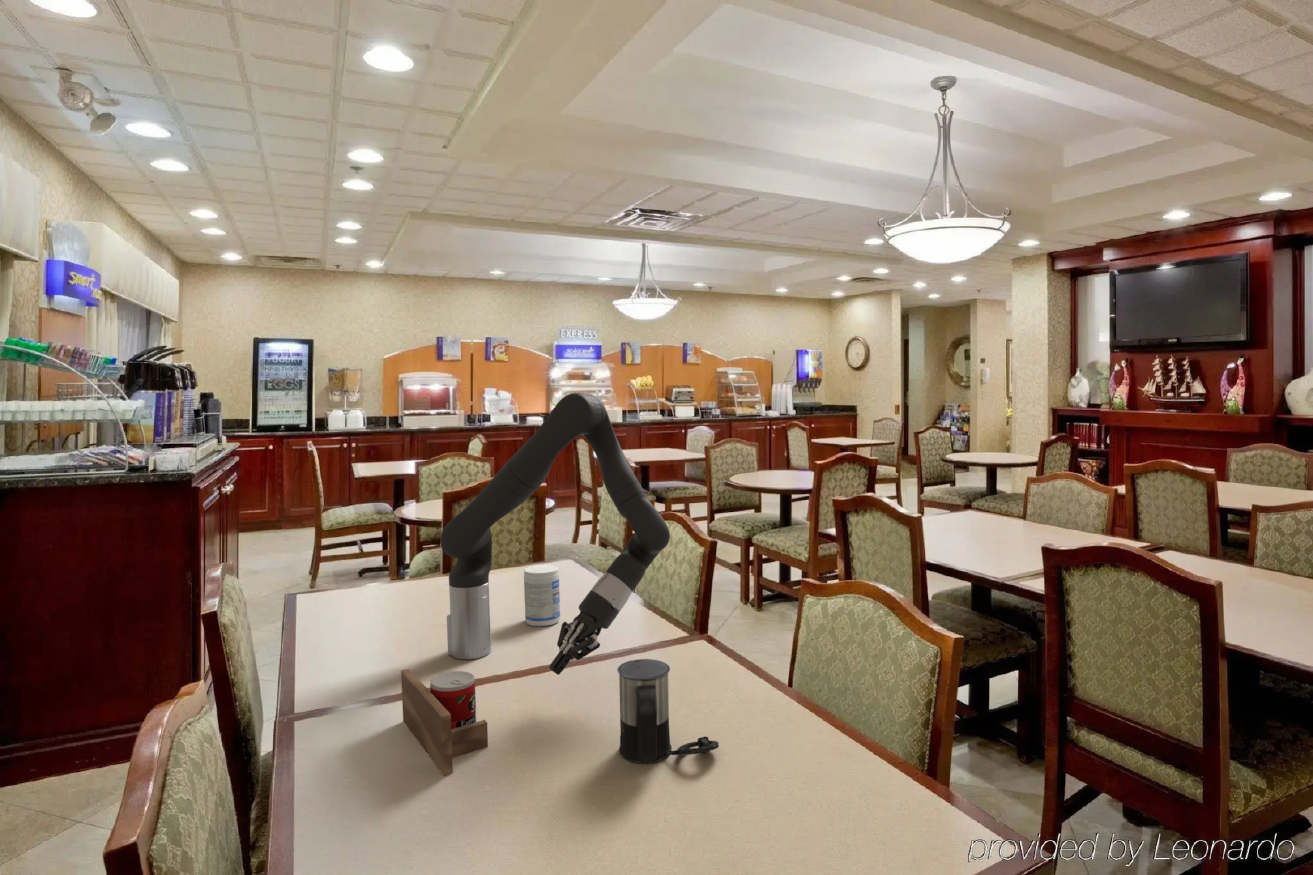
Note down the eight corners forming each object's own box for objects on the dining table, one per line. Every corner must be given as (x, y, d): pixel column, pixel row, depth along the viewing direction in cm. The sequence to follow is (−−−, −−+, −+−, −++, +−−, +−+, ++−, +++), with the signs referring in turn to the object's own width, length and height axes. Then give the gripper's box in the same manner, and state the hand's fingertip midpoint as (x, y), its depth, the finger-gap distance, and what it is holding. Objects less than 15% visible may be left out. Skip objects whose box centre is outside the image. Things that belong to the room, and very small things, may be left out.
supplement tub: (562, 625, 191) (560, 571, 190) (526, 629, 188) (524, 574, 187) (558, 614, 200) (557, 563, 199) (524, 617, 198) (522, 565, 197)
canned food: (465, 750, 125) (463, 689, 124) (423, 746, 127) (421, 686, 126) (484, 729, 133) (482, 672, 132) (444, 726, 134) (442, 669, 134)
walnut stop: (451, 708, 142) (450, 659, 141) (498, 758, 122) (496, 701, 122) (403, 721, 136) (401, 670, 136) (443, 775, 117) (441, 716, 116)
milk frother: (611, 744, 127) (609, 662, 126) (691, 726, 133) (690, 649, 132) (640, 784, 113) (638, 694, 112) (727, 763, 120) (727, 677, 119)
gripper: (578, 582, 151) (526, 651, 145) (610, 597, 140) (556, 672, 134) (600, 602, 154) (550, 670, 148) (633, 618, 143) (581, 692, 137)
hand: (553, 671), depth 141 cm, fingers closed
